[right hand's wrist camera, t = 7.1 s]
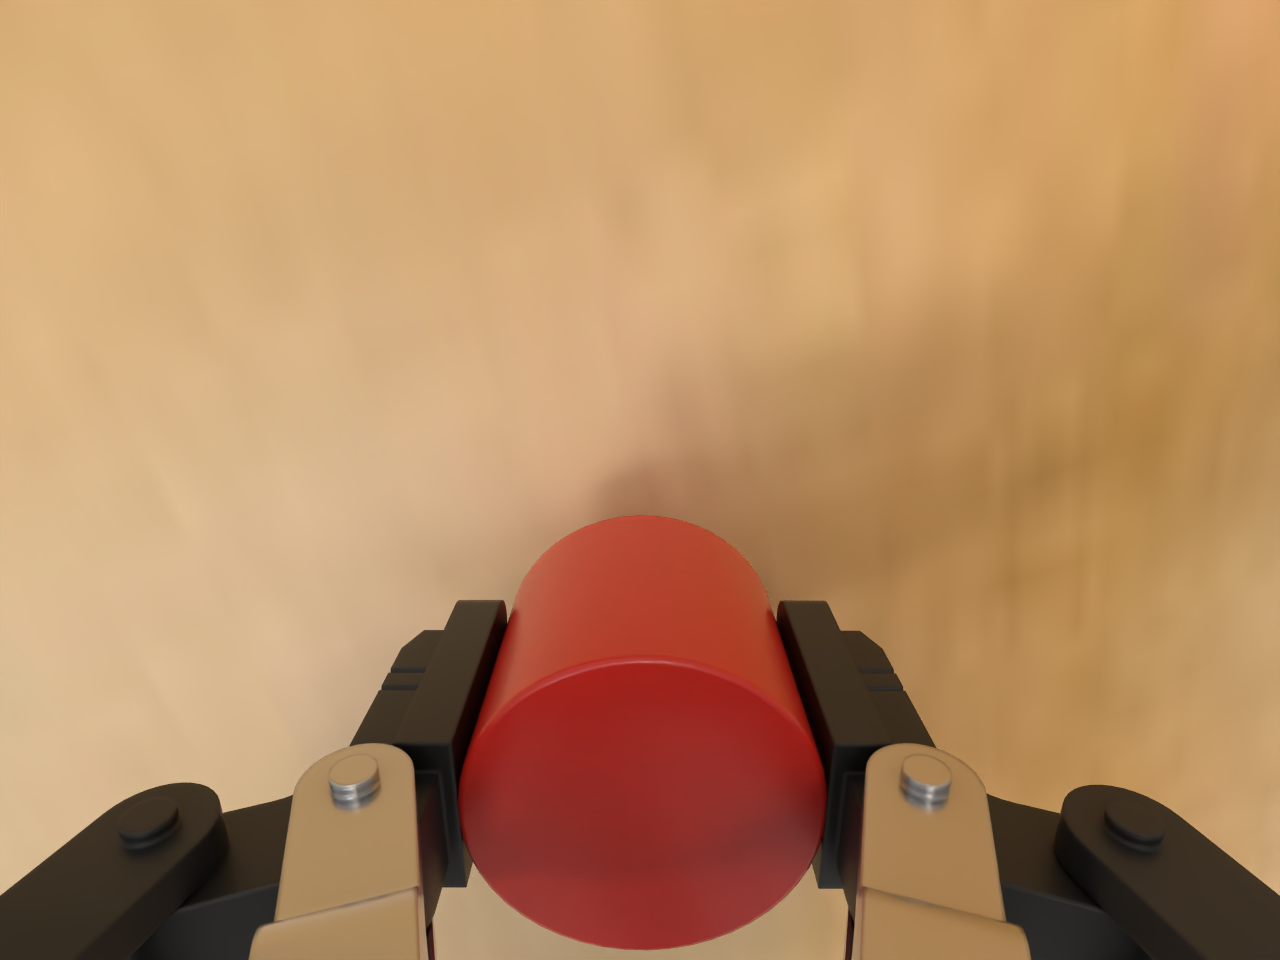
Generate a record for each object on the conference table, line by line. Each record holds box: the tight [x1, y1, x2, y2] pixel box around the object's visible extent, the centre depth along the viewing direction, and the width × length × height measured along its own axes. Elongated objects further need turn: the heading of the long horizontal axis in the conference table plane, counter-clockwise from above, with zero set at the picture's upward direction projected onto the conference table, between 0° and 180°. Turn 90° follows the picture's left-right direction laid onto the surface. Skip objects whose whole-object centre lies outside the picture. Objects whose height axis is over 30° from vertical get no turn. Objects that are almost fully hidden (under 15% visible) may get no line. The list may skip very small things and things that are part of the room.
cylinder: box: [458, 516, 827, 950], centre depth 11 cm, size 4×4×4 cm
